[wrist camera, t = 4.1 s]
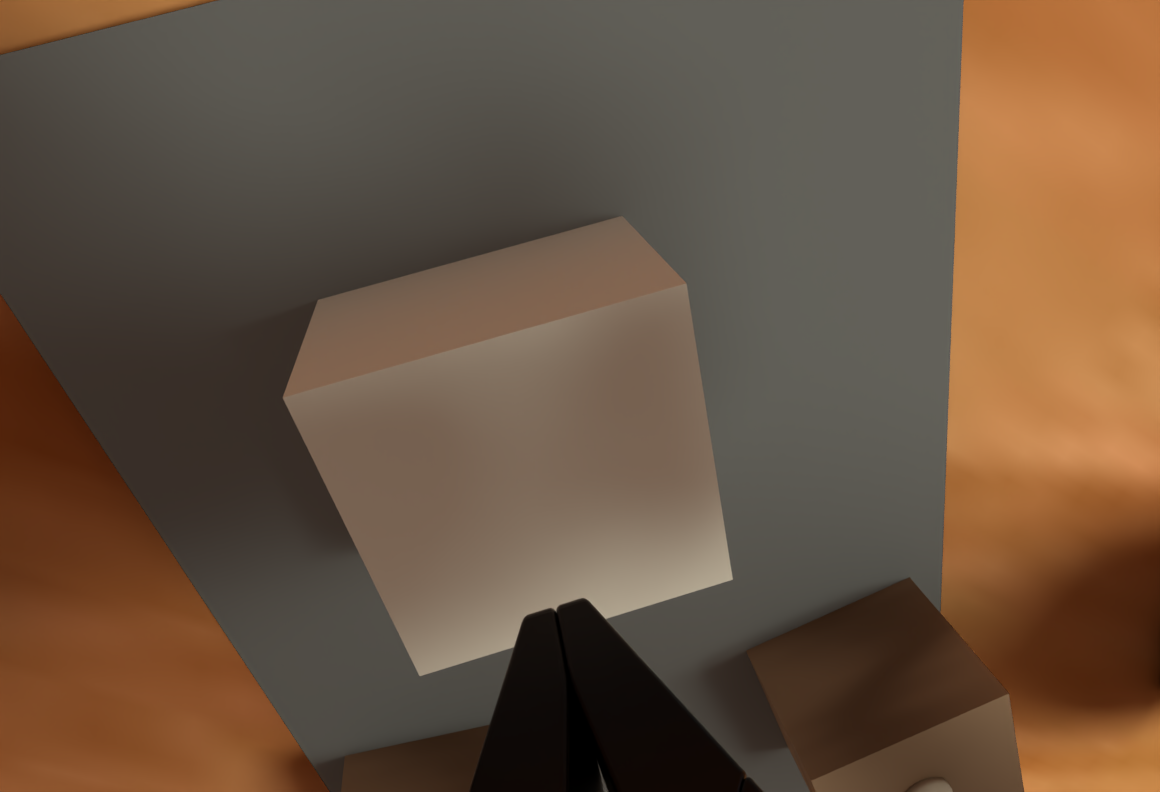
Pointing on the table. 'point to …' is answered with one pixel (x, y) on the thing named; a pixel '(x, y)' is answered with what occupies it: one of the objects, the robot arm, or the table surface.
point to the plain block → (516, 437)
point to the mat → (478, 226)
